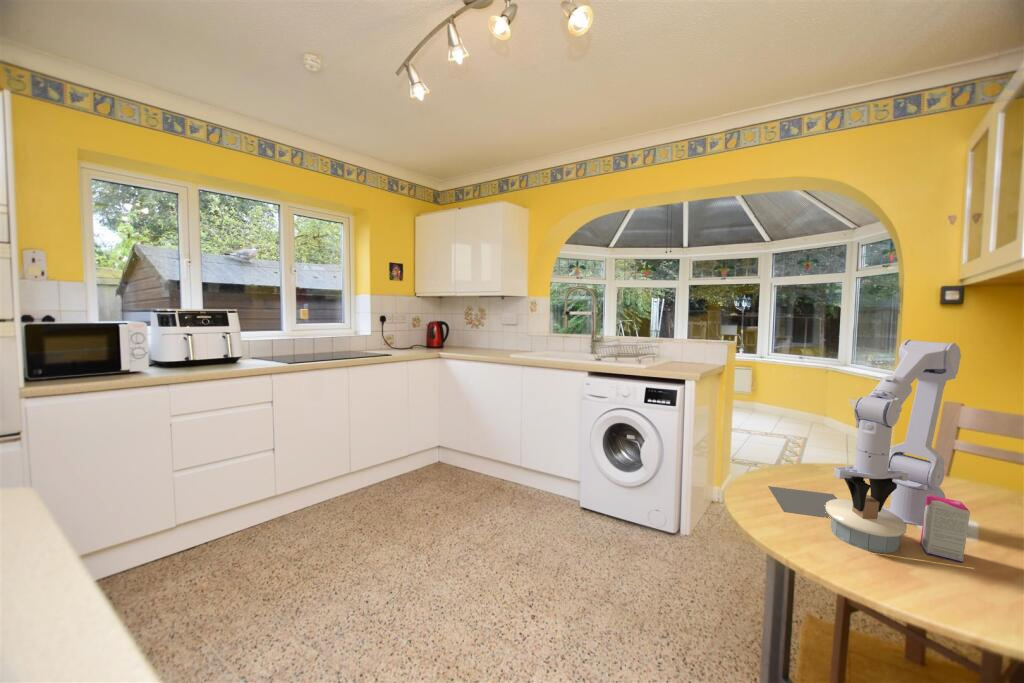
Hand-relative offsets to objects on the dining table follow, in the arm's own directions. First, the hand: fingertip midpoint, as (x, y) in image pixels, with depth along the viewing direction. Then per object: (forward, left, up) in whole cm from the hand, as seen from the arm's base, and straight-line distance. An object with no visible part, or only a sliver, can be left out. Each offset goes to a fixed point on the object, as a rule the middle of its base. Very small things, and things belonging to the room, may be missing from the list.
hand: (866, 509), depth 100 cm
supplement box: (-13, +2, -7) cm, 15 cm away
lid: (0, 0, -2) cm, 2 cm away
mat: (+6, -16, -7) cm, 18 cm away
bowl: (0, 0, -7) cm, 7 cm away
